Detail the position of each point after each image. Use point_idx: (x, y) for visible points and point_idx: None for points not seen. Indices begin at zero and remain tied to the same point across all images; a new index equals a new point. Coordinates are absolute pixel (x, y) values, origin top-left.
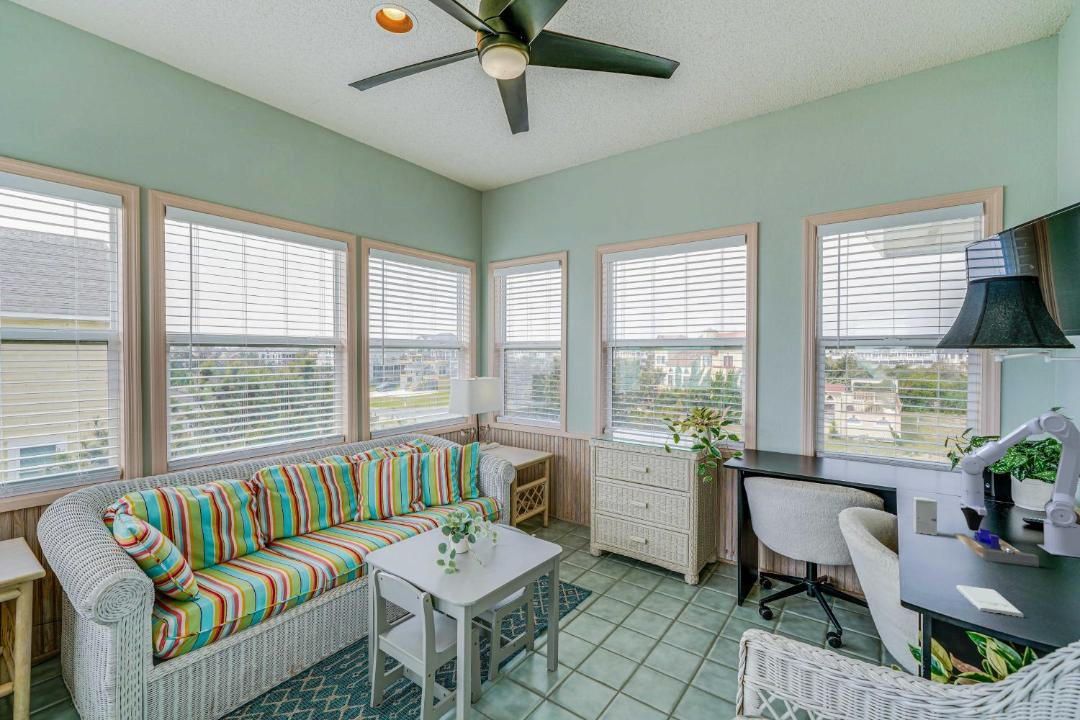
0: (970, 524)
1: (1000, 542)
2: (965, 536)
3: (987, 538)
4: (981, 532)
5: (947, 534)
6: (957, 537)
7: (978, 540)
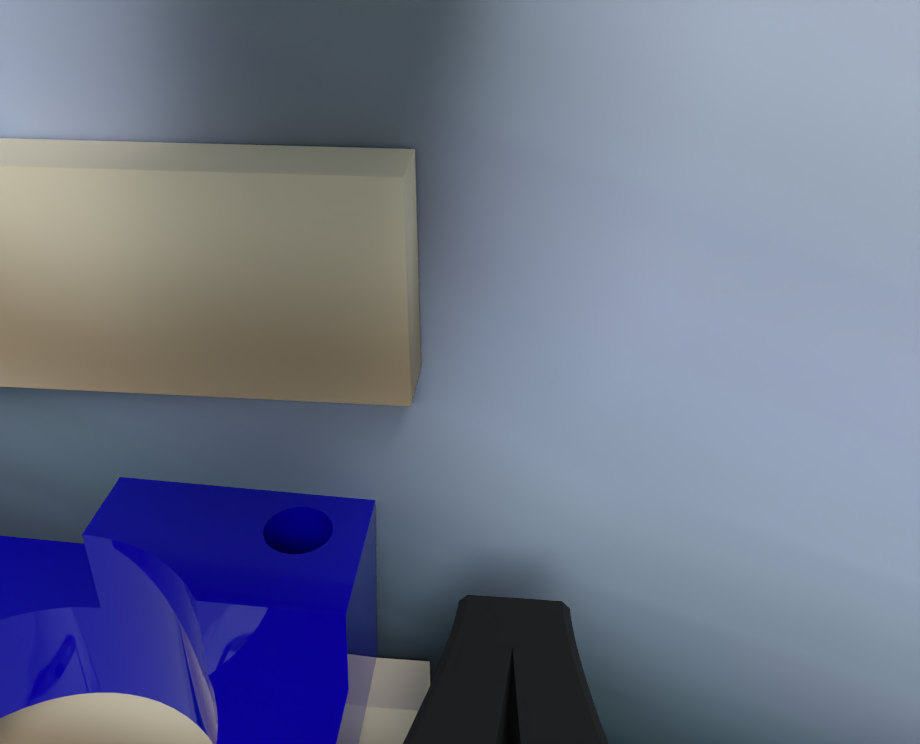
0: (417, 730)
1: (102, 734)
2: (174, 341)
3: (162, 656)
4: (273, 702)
5: (483, 19)
6: (147, 151)
7: (169, 498)
